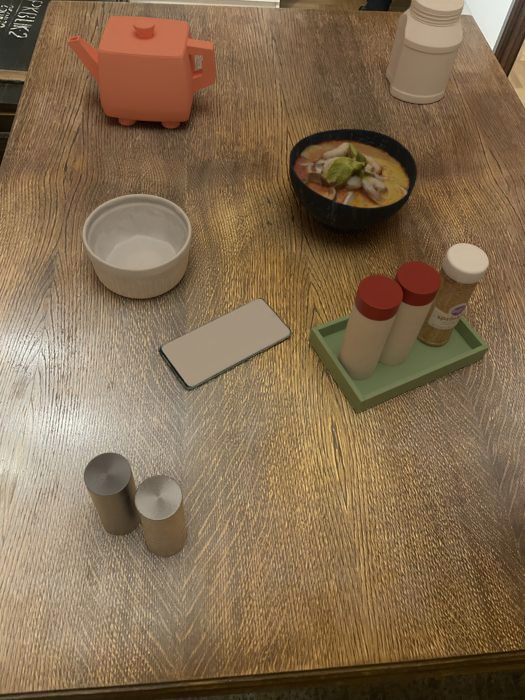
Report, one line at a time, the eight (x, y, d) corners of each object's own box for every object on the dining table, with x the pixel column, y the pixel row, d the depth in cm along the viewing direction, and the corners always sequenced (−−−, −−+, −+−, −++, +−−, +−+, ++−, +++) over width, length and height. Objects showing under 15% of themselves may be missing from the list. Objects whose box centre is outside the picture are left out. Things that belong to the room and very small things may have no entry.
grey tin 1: (147, 526, 59) (136, 486, 51) (107, 541, 58) (89, 502, 50) (136, 490, 61) (124, 446, 53) (96, 504, 60) (78, 461, 52)
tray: (428, 295, 80) (434, 282, 77) (481, 359, 74) (489, 346, 72) (308, 340, 74) (311, 327, 72) (356, 413, 68) (361, 401, 66)
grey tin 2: (192, 547, 58) (188, 510, 50) (152, 563, 57) (142, 527, 49) (179, 510, 61) (173, 468, 52) (140, 524, 59) (128, 484, 51)
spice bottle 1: (382, 373, 71) (411, 301, 61) (348, 384, 70) (371, 314, 59) (363, 343, 74) (389, 269, 63) (330, 354, 72) (350, 281, 62)
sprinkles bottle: (432, 353, 73) (470, 278, 62) (406, 328, 75) (438, 251, 64) (457, 336, 75) (499, 261, 64) (431, 312, 77) (467, 235, 66)
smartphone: (156, 347, 71) (261, 296, 77) (157, 350, 71) (260, 298, 77) (187, 390, 68) (293, 333, 74) (187, 392, 68) (293, 335, 74)
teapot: (73, 127, 95) (53, 37, 84) (88, 82, 103) (72, -6, 91) (212, 137, 96) (212, 49, 85) (218, 92, 104) (218, 6, 92)
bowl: (424, 231, 87) (446, 174, 79) (326, 272, 81) (339, 215, 73) (355, 163, 95) (368, 105, 87) (261, 196, 89) (266, 137, 81)
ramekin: (200, 301, 76) (199, 263, 71) (93, 314, 74) (83, 275, 68) (185, 229, 84) (183, 189, 78) (88, 238, 81) (79, 198, 76)
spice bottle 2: (415, 359, 73) (449, 287, 62) (382, 370, 71) (411, 299, 61) (396, 330, 75) (426, 256, 64) (363, 340, 74) (389, 267, 63)
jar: (383, 67, 112) (404, -21, 100) (434, 70, 112) (460, -17, 100) (392, 103, 105) (415, 14, 93) (446, 105, 106) (476, 17, 94)
